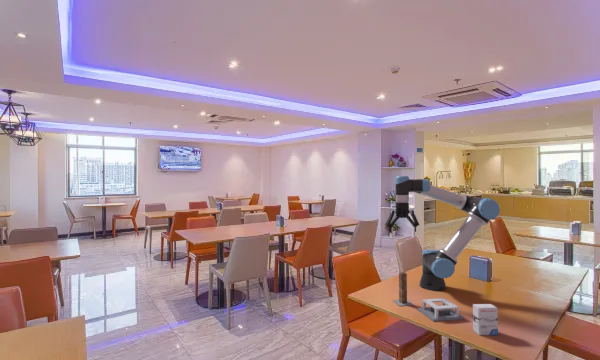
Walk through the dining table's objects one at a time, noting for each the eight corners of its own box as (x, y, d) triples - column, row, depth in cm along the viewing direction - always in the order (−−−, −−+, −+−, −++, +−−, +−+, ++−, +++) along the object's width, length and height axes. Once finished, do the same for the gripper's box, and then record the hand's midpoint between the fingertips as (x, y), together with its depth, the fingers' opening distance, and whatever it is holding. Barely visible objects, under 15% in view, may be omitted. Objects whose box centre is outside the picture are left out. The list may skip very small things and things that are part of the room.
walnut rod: (404, 301, 176) (404, 271, 176) (407, 303, 173) (406, 273, 173) (399, 301, 176) (398, 272, 176) (401, 303, 173) (401, 273, 173)
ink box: (491, 329, 143) (491, 303, 143) (498, 335, 138) (498, 307, 138) (472, 330, 142) (472, 303, 142) (479, 335, 137) (478, 308, 137)
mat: (406, 299, 179) (406, 299, 179) (413, 305, 171) (413, 304, 171) (392, 300, 178) (392, 300, 178) (399, 306, 170) (399, 305, 170)
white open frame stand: (446, 307, 168) (446, 297, 168) (463, 319, 154) (463, 307, 154) (417, 309, 165) (417, 299, 165) (433, 321, 151) (433, 309, 151)
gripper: (418, 201, 195) (418, 236, 195) (379, 202, 191) (379, 237, 191) (425, 202, 188) (425, 238, 188) (385, 202, 184) (385, 239, 184)
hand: (402, 238), depth 190 cm, fingers open, 13 cm apart
